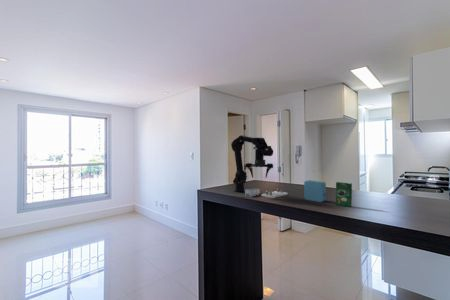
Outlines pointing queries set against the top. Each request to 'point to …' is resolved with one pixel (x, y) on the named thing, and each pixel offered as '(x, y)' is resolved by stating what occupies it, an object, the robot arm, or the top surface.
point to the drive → (252, 192)
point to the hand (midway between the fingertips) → (259, 177)
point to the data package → (315, 190)
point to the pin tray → (274, 194)
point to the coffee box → (344, 194)
